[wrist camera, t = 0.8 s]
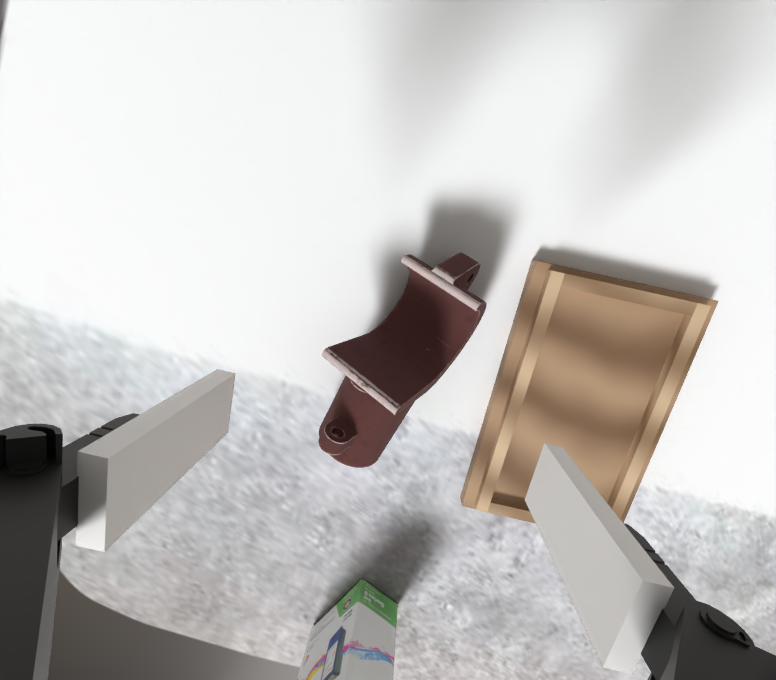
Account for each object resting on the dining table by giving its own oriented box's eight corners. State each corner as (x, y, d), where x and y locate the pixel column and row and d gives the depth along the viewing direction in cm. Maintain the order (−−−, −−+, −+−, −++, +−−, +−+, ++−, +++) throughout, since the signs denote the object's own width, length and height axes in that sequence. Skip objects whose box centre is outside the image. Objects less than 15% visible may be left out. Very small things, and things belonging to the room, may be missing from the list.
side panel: (531, 260, 29) (540, 260, 27) (706, 299, 29) (727, 302, 27) (460, 497, 34) (463, 511, 32) (608, 531, 34) (620, 547, 32)
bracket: (509, 279, 27) (471, 289, 18) (405, 438, 34) (342, 499, 26) (441, 238, 29) (377, 230, 20) (355, 397, 36) (281, 442, 27)
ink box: (347, 651, 39) (321, 815, 28) (309, 624, 39) (266, 779, 27) (400, 603, 37) (395, 757, 26) (360, 574, 37) (338, 718, 25)
